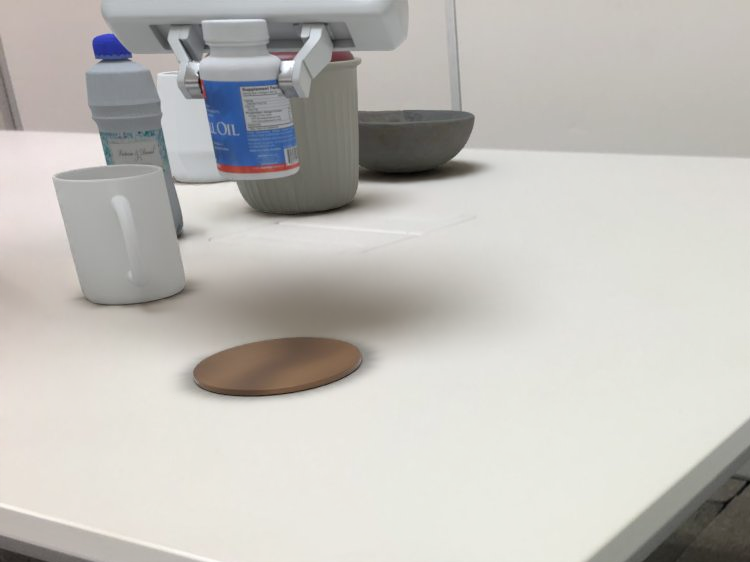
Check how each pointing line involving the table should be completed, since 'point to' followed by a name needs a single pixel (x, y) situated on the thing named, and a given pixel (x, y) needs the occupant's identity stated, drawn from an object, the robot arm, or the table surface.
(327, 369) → the coaster
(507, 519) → the table surface
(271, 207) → the canister
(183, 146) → the cup
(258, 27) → the pill bottle
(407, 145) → the bowl
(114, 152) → the bottle
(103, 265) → the cup
